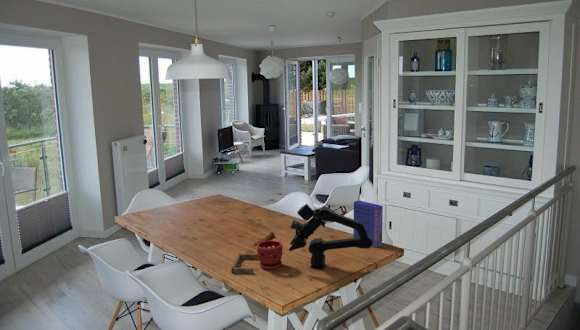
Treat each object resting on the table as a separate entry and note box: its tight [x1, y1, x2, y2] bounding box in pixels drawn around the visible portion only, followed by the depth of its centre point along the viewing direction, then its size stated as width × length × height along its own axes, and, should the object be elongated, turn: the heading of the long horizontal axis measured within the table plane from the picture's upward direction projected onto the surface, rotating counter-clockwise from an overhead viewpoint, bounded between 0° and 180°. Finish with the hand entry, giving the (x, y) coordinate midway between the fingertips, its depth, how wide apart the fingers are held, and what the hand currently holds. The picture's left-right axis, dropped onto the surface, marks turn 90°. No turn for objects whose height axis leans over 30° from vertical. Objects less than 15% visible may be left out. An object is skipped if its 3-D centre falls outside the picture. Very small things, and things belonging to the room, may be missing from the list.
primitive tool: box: [252, 231, 276, 247], centre depth 280 cm, size 19×6×4 cm, turn 155°
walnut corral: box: [231, 253, 259, 275], centre depth 243 cm, size 11×20×2 cm, turn 176°
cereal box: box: [353, 200, 384, 249], centre depth 271 cm, size 17×5×24 cm, turn 41°
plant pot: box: [256, 240, 283, 270], centre depth 241 cm, size 13×13×12 cm
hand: (290, 247), depth 239 cm, fingers open, 9 cm apart
